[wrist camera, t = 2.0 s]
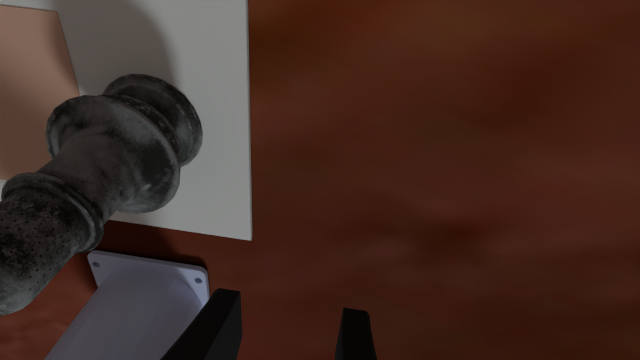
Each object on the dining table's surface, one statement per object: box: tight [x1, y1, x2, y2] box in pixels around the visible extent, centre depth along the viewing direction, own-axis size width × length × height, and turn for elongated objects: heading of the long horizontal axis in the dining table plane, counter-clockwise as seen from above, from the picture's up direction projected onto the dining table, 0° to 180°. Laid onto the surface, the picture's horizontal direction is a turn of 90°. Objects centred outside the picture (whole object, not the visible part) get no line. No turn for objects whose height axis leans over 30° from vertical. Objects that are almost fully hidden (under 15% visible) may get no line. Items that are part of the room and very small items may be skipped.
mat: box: [0, 0, 252, 241], centre depth 20 cm, size 14×22×1 cm, turn 85°
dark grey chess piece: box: [0, 74, 203, 316], centre depth 15 cm, size 6×6×12 cm
